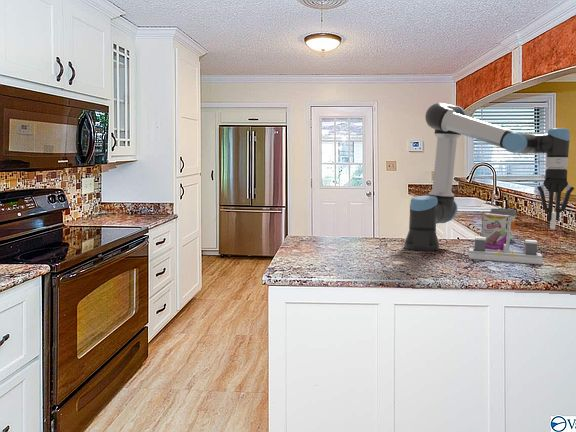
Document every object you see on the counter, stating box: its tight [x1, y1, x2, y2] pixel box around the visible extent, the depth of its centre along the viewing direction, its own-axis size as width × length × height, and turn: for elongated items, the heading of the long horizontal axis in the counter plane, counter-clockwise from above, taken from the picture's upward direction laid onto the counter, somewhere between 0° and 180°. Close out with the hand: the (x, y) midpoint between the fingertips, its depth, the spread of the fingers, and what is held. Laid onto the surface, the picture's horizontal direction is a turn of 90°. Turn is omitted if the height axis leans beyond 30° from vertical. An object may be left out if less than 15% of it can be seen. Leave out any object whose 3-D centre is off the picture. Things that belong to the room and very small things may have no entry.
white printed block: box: [490, 208, 517, 240], centre depth 263 cm, size 13×13×15 cm
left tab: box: [473, 235, 486, 251], centre depth 207 cm, size 4×4×6 cm
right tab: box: [523, 239, 539, 255], centre depth 201 cm, size 4×4×6 cm
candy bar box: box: [480, 212, 512, 251], centre depth 223 cm, size 11×5×16 cm, turn 47°
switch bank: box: [468, 244, 544, 265], centre depth 205 cm, size 27×10×6 cm, turn 71°
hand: (552, 228), depth 198 cm, fingers closed
